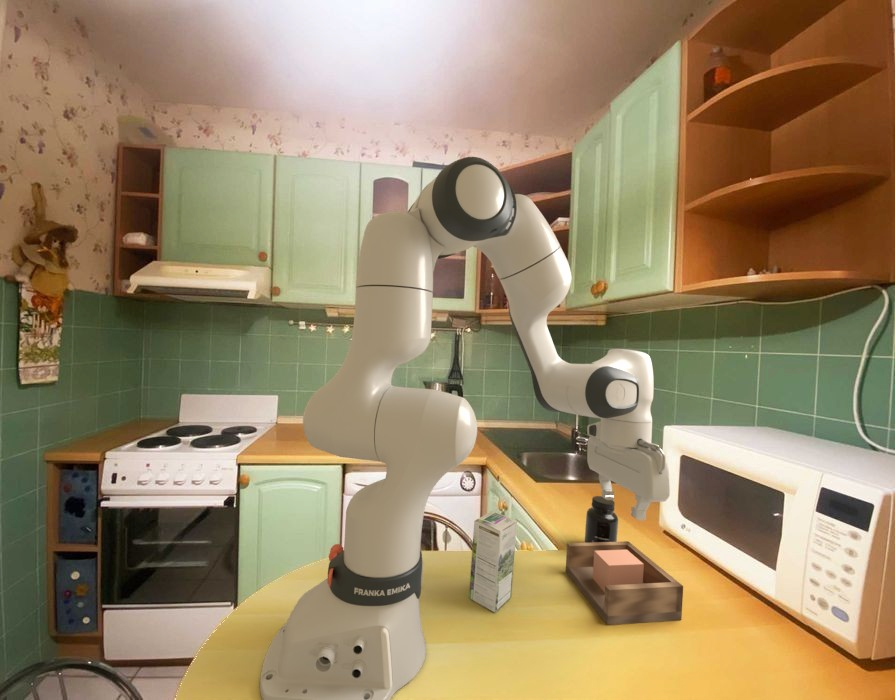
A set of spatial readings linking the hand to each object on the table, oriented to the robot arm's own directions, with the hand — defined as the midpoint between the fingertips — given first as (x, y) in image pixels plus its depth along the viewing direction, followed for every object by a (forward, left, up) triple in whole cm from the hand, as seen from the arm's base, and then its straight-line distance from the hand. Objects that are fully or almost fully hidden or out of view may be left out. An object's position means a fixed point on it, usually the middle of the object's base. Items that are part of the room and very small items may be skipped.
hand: (621, 508), depth 70 cm
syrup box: (-24, +1, -17) cm, 30 cm away
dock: (+1, +1, -17) cm, 17 cm away
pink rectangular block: (0, +1, -15) cm, 15 cm away
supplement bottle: (+6, +15, -17) cm, 23 cm away
